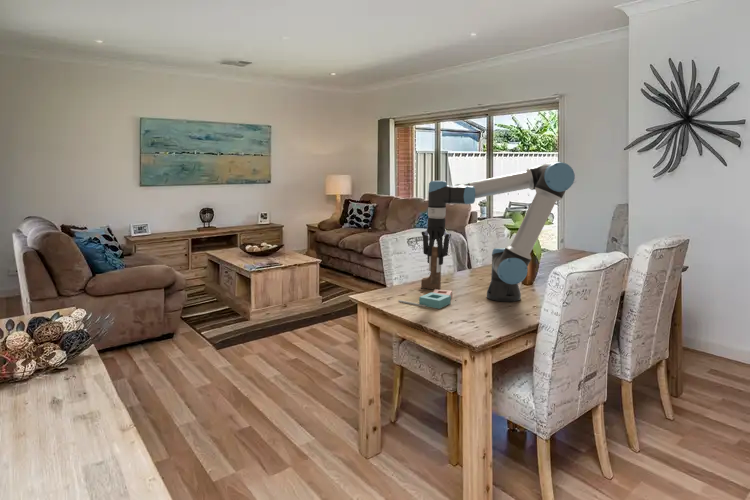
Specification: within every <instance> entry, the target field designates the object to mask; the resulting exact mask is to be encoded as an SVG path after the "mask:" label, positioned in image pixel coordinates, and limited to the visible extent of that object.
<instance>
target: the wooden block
mask: <svg viewBox="0 0 750 500" xmlns="http://www.w3.org/2000/svg"><path fill="white" fill-rule="evenodd" d="M441 280H442V271H441V272H439V273H438V284H431V272H430V273H429V276H428V277H422V279H421V285H420V286H421V289H423V288H427V289H426V290H441V285H442V284H441V283H442V282H441Z"/></svg>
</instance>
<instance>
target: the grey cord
mask: <svg viewBox="0 0 750 500" xmlns="http://www.w3.org/2000/svg"><path fill="white" fill-rule="evenodd" d="M402 302H403V303H402ZM398 303H402V304H407V305H413V306H417V307H423V308H426V307H427V306H426V305H422V304H419V303H416V302H413V301H407V300H402V299H399V300H398Z"/></svg>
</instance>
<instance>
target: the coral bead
mask: <svg viewBox="0 0 750 500" xmlns="http://www.w3.org/2000/svg"><path fill="white" fill-rule="evenodd" d="M433 290H434V291H433V292H432V293H437V294H443V295H449V296H451V299H452V298H453V290H448V289H447V290H445V289H439V290H437V289H433Z"/></svg>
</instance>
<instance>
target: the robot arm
mask: <svg viewBox="0 0 750 500" xmlns="http://www.w3.org/2000/svg"><path fill="white" fill-rule="evenodd" d="M575 178H576V177H575V172H574V169H573V167H572V166H571V165H570V164H568V163H566V162H562V161H559V160H558V161H549V162H545V163H543V164H541V165H540V164H539V165H536V166H534V167H529V168H526V170H525V171H521V172H516V173H511V174H506V175H500V176H495V177H491V178H485V179H479V180H476V181H471V182H465V183H457V184H455V185H448V183H447V181H446V180H430V181H429V183H428V193H427V194H428V195H427V196H428V198H427V199H428V200H427V216H428V218H427V228H426V230H424V231H421V235H422V245H423V246H422V248H423V254H424V255H426V256H427V264H428V272H431V258H432V246H435V242H436V243H437V244H436V245H437V246H438V255H439V256H438V257H437V271H436V272H437V273H438V272H441V273H442V265H443V264H444V257H447V256H448V254H449V246H450V245H449V244H450V238H451V237H452V234H451V233H449V232H447V231H446V215H447V214H446V213H447V211H446V210H447V204H448V205H449V204H456V205H472V204H474V203H475V201H476V199H480V198H485V197H490V196H491V197H492V196H495V195H502V194H505V193H506V194H507V193H512V192H517V191H522V190H526V189H530V191H534V190H535V195H534V197H533V200H532V201H531V203H530V206H529V207H528V210H527V211H526V214H525V215H524V217H523V219H522V221H521V223H520V226H519V228H518V230H517V232H516V234H515V236H514V238H513V240H512V242H511V244H509V245H508V246H505V247H503V248H502V247H500V248H499V247H496V248H493V249H492V253H491V274H490V275H491V278H490V283H489V284H488V287H487V291H486V298H487V299H488V300H491V301H496V302H501V303H502V302H503V303H508V302H509V303H510V302H512V303H513V302H517V301H521V297H522V295H521V290H520V287H519V284H520V283H522V282H523V281H525V279H526V277H527V276H528V266H529V264H530V263H531V260H532V257H531V253H532V250H533V249H534V246H535V244H536V242H537V241H538V238H539V237H540V235H541V232H542V231H543V229H544V227H545V225H546V223H547V220H548V218H549V216H550V214H551V212H552V211H553V208H554V207H555V204H556V203H557V202H558V201H561V200H562V199H563V198H564V195H565V193H566V191H568V190H569V189H570V188H572V186H573V185H574V182H575ZM443 237H444V238H443ZM435 240H436V241H435Z"/></svg>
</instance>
